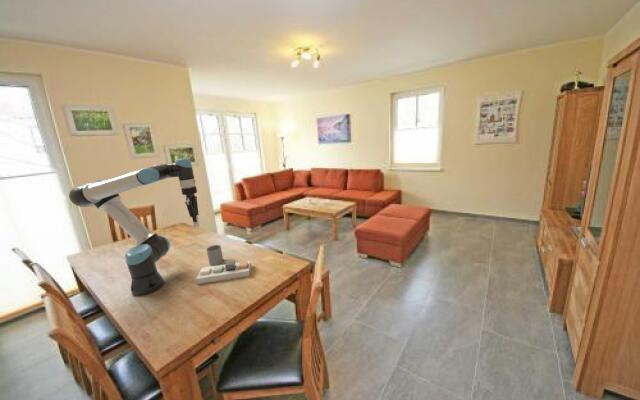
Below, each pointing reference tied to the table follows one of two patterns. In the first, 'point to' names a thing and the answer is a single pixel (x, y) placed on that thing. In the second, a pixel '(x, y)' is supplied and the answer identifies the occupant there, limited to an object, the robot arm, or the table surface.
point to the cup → (214, 255)
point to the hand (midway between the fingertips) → (197, 226)
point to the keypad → (224, 274)
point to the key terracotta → (243, 265)
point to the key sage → (218, 269)
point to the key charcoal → (230, 265)
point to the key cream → (205, 271)
